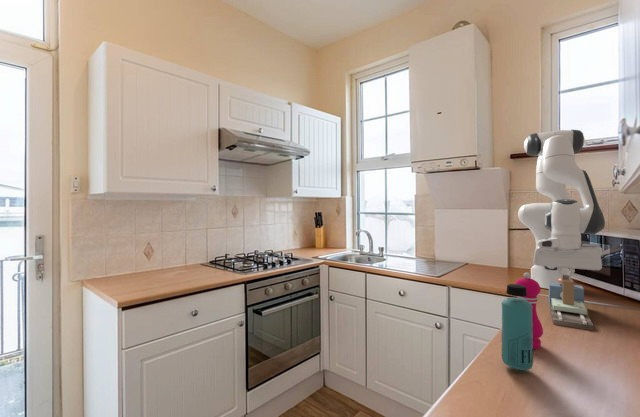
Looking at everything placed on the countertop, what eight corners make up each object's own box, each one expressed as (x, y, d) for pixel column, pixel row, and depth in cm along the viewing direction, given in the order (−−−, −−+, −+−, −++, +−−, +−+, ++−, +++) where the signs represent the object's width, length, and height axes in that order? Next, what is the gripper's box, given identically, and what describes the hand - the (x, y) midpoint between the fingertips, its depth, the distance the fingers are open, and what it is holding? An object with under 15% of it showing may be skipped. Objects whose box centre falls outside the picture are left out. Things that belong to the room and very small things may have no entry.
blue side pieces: (548, 302, 125) (548, 282, 124) (581, 307, 119) (581, 285, 119) (549, 307, 119) (549, 285, 119) (584, 311, 114) (584, 289, 114)
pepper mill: (533, 339, 91) (533, 270, 91) (549, 350, 84) (549, 275, 84) (507, 338, 92) (507, 269, 92) (520, 349, 85) (520, 275, 85)
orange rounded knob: (557, 290, 122) (557, 277, 122) (572, 292, 120) (572, 279, 120) (558, 293, 119) (558, 280, 119) (573, 295, 116) (573, 281, 116)
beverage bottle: (522, 379, 71) (522, 290, 70) (494, 366, 77) (494, 283, 76) (540, 372, 74) (540, 286, 73) (512, 360, 80) (512, 280, 79)
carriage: (551, 302, 118) (551, 276, 118) (582, 306, 113) (582, 279, 113) (553, 309, 110) (553, 282, 110) (587, 314, 105) (587, 285, 105)
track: (549, 306, 120) (549, 301, 120) (583, 311, 114) (583, 305, 114) (553, 324, 103) (553, 317, 103) (593, 330, 97) (593, 323, 97)
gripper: (600, 243, 116) (600, 281, 116) (533, 240, 127) (533, 275, 127) (604, 245, 111) (604, 285, 111) (533, 242, 122) (533, 278, 122)
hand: (565, 279), depth 119 cm, fingers closed, pressing on orange rounded knob
